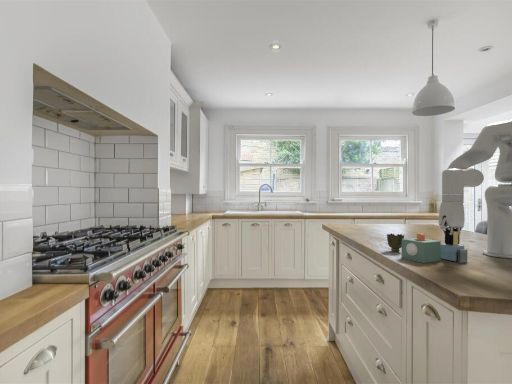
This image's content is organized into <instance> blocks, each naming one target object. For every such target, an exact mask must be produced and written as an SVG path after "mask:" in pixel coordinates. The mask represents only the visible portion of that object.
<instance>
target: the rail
mask: <svg viewBox="0 0 512 384" xmlns="http://www.w3.org/2000/svg"><path fill="white" fill-rule="evenodd" d="M441 259H442V258H441V251H440V260H441ZM442 260H443V259H442ZM445 260H447V259H445ZM447 261H448V260H447ZM449 261H452V260H449ZM452 262H453V261H452ZM454 262H456V263H459V264H464V263H468V249H465V248H464V249H462V250H458V254H457V261H454Z"/></svg>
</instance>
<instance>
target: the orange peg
mask: <svg viewBox="0 0 512 384" xmlns="http://www.w3.org/2000/svg"><path fill="white" fill-rule="evenodd" d="M416 238H417V240H419V241H425V239H426V234H425V233H416Z"/></svg>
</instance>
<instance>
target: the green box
mask: <svg viewBox="0 0 512 384" xmlns="http://www.w3.org/2000/svg"><path fill="white" fill-rule="evenodd" d="M440 244H442V243H441V240H434V239H431V238H430V239H428V238H425V241H419V240H417V237H411V238H408V237H407V238H404V239H402V247H401V259H405V260H409V261H414V262H416V263H417V262H418V263H420V264H421V263H422V264H427V263H433V262H434V263H436V262H441V258H440Z"/></svg>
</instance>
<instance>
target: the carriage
mask: <svg viewBox="0 0 512 384" xmlns="http://www.w3.org/2000/svg"><path fill="white" fill-rule="evenodd" d="M452 235H453V245H449V244H445V243H441V244H440V251H441V258H442V260H446V259H447V261H450V260H452V262H455V261H457V254H458V250H462V249H465V245H464V244H463V245H462V244H458V232H456V231H453V232H452ZM441 258H440V259H441Z"/></svg>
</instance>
